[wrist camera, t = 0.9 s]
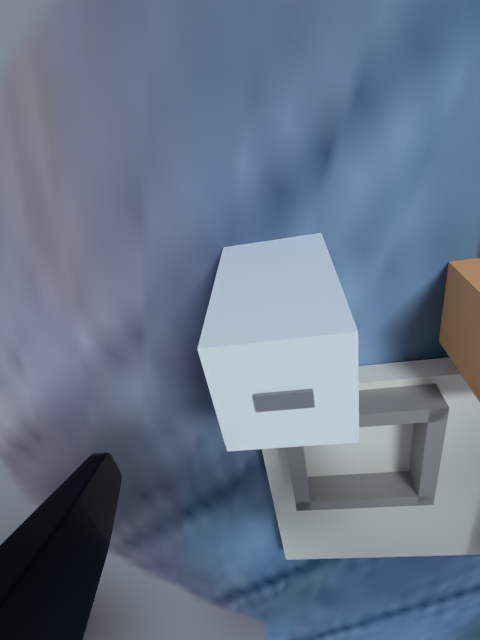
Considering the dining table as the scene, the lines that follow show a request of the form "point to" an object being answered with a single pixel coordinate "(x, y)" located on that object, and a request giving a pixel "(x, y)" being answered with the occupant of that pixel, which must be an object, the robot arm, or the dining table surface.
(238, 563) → the dining table surface
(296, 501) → the board
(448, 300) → the cable plug
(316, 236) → the block
